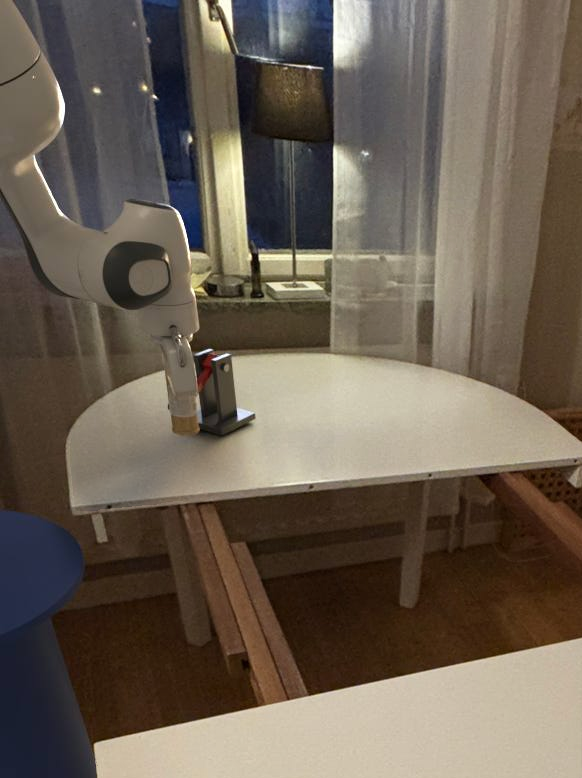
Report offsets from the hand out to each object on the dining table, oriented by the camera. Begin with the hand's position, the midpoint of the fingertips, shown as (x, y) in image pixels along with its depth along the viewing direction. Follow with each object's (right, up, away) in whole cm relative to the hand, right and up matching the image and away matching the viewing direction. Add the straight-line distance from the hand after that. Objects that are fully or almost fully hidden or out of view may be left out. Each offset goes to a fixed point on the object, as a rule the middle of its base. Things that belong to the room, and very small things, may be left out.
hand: (181, 402), depth 128 cm
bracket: (0, +3, +20) cm, 20 cm away
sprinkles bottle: (0, -4, +3) cm, 5 cm away
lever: (-1, +6, +12) cm, 14 cm away
